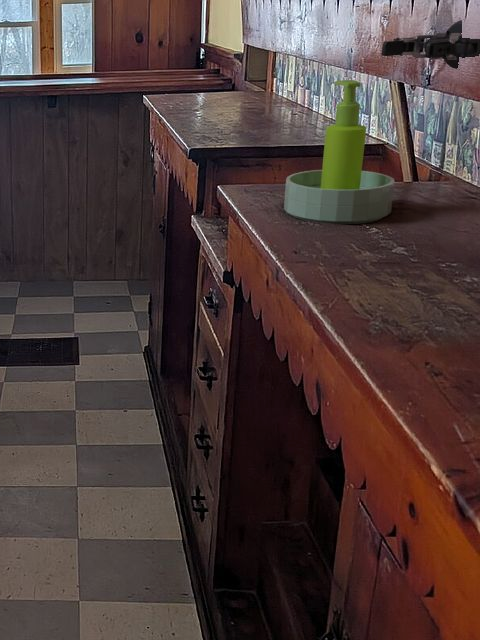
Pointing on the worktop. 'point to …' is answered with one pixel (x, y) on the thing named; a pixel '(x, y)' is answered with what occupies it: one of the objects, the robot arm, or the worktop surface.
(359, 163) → the soap dispenser
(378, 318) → the worktop surface
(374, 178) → the bowl
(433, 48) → the robot arm
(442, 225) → the worktop surface
